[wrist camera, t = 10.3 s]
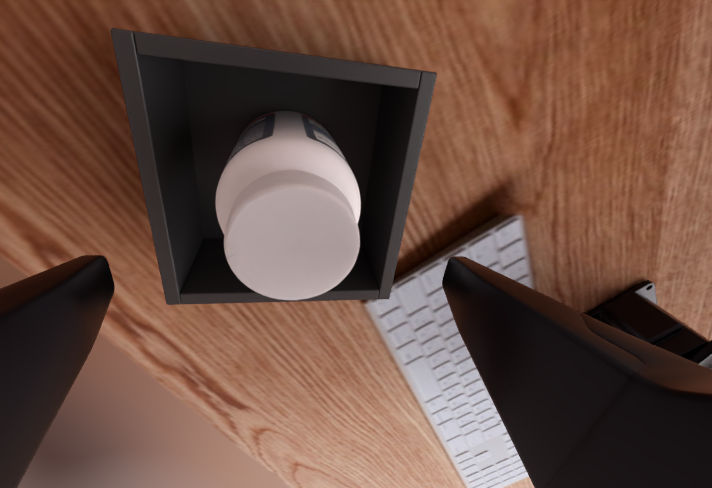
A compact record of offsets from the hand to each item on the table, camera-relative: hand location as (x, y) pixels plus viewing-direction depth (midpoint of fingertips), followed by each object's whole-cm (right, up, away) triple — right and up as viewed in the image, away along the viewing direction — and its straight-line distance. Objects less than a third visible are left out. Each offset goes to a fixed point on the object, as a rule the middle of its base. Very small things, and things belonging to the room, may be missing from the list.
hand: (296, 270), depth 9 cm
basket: (-2, +5, +9) cm, 10 cm away
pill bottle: (-2, +5, +8) cm, 10 cm away
